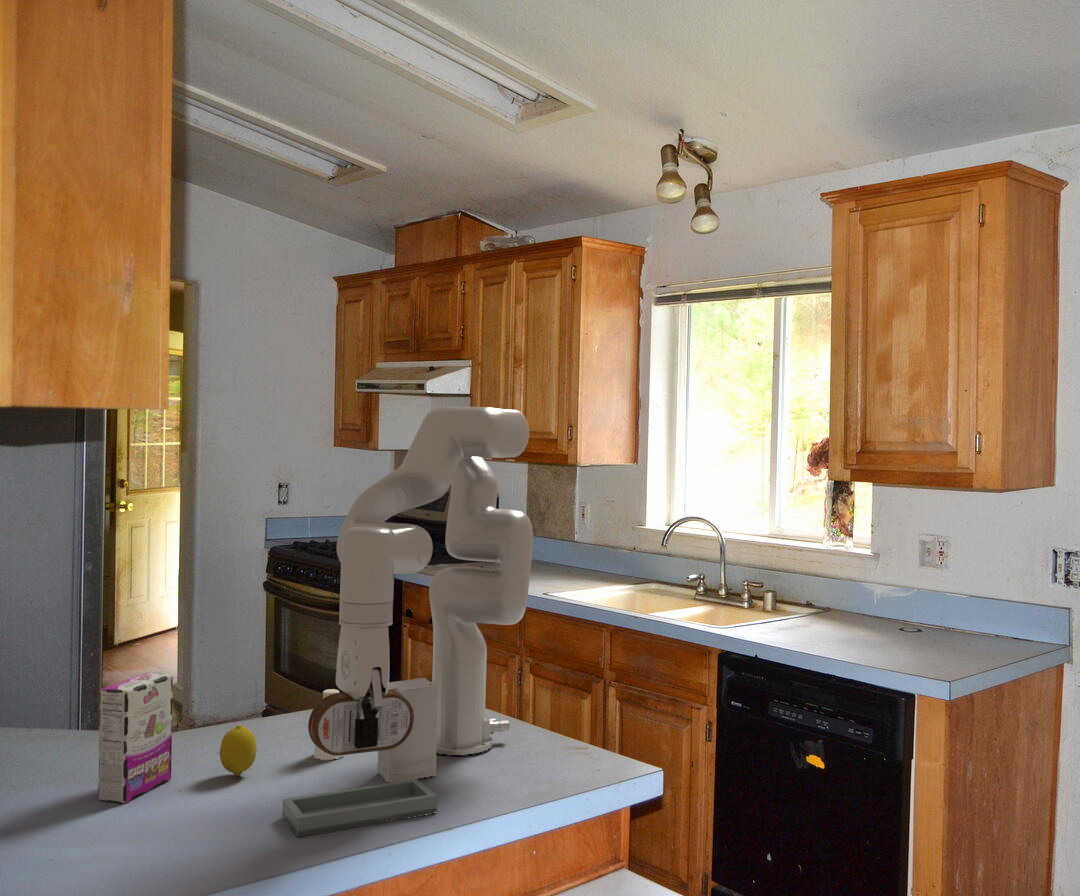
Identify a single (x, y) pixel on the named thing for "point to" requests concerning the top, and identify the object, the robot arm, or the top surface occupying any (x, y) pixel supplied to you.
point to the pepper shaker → (318, 752)
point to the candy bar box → (135, 736)
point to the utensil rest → (357, 807)
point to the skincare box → (414, 735)
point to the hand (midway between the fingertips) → (361, 742)
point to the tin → (337, 723)
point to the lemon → (238, 750)
